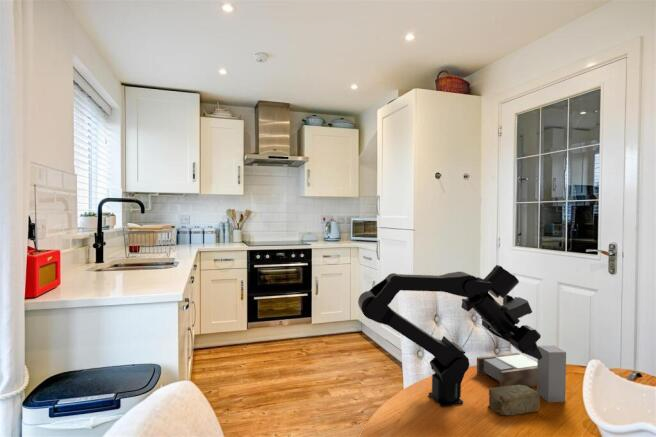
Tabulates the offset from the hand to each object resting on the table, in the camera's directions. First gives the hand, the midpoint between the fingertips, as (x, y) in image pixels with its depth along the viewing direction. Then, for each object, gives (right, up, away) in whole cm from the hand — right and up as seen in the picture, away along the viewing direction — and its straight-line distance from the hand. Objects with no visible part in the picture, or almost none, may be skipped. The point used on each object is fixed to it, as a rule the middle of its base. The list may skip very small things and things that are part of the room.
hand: (529, 351), depth 95 cm
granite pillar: (+6, -12, +1) cm, 14 cm away
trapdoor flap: (+1, -11, +11) cm, 16 cm away
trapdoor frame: (0, -12, +11) cm, 16 cm away
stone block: (-7, -13, -5) cm, 16 cm away
